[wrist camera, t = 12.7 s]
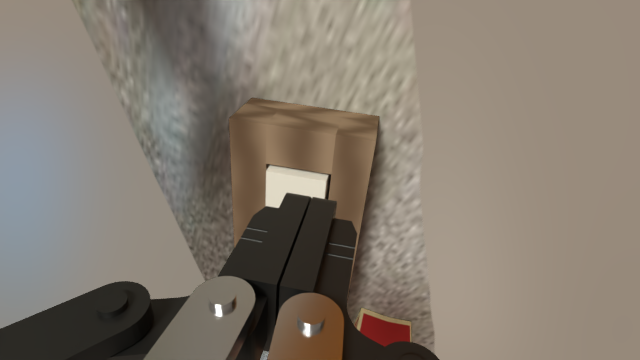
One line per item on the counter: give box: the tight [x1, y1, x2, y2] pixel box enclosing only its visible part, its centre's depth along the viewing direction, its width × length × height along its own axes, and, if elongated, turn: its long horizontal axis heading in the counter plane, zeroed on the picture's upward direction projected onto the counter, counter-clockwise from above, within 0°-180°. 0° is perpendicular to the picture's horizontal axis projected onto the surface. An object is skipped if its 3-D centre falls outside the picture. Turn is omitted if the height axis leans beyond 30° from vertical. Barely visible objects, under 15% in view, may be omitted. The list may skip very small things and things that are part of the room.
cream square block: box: [266, 164, 331, 208], centre depth 39 cm, size 6×6×4 cm
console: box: [229, 98, 379, 300], centre depth 44 cm, size 14×28×6 cm, turn 175°
